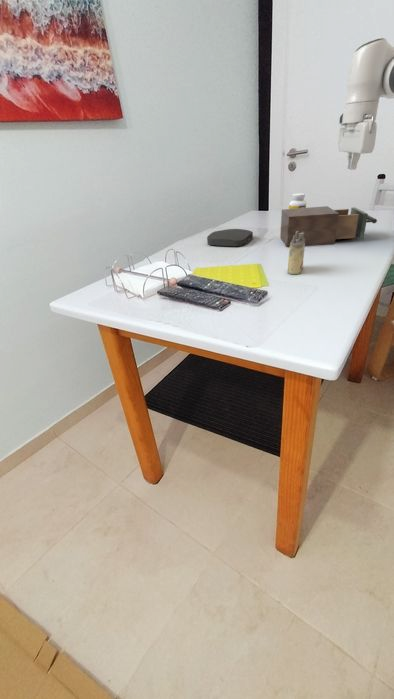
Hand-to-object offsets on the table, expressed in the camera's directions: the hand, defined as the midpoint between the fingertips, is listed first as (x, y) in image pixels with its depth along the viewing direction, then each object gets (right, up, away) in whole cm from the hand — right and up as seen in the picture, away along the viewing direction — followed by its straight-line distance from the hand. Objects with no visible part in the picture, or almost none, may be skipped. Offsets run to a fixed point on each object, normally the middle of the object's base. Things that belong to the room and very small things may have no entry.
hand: (351, 169), depth 104 cm
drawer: (+2, -17, +11) cm, 20 cm away
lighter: (-21, -34, -11) cm, 42 cm away
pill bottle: (-8, -6, +32) cm, 33 cm away
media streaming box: (-36, -17, +19) cm, 44 cm away
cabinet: (-10, -18, +12) cm, 24 cm away
